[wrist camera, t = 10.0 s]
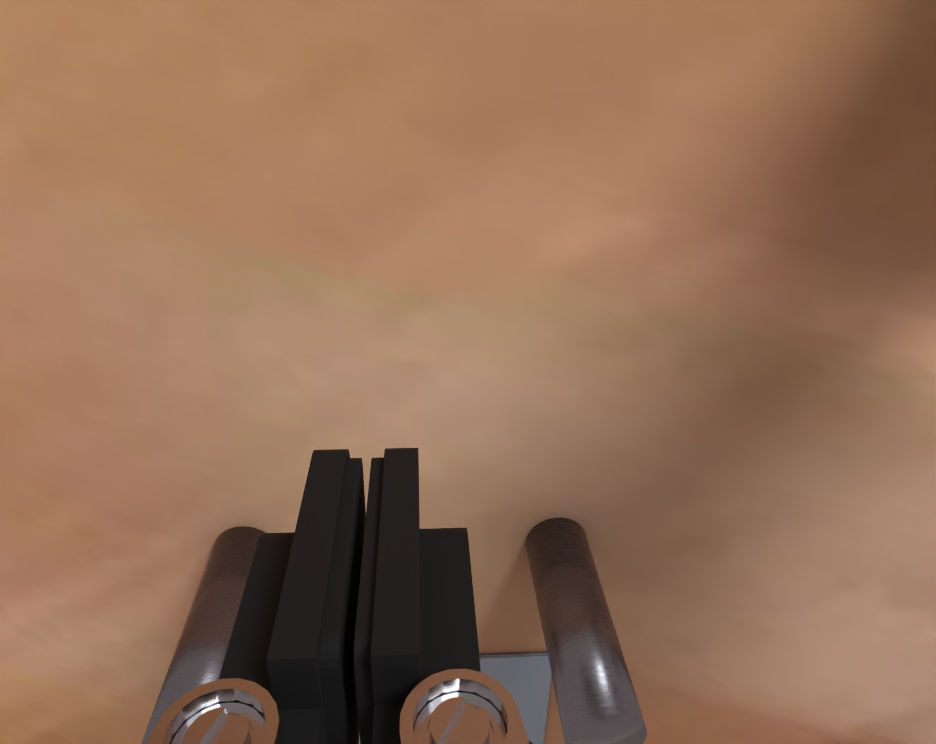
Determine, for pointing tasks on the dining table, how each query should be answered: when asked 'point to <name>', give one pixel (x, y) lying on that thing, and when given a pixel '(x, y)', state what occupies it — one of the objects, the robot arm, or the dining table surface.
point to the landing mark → (523, 686)
